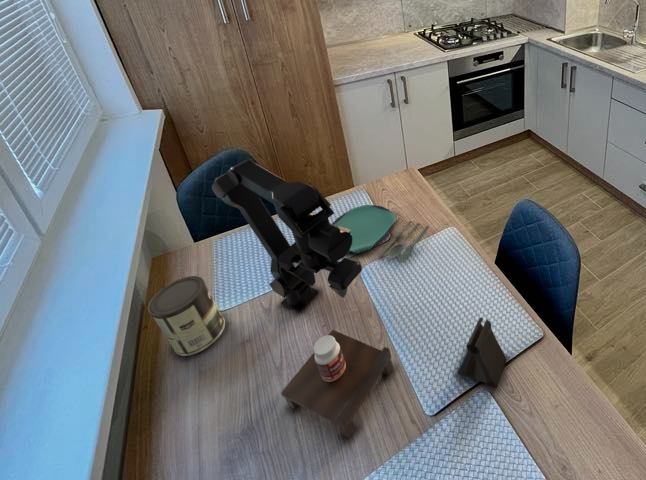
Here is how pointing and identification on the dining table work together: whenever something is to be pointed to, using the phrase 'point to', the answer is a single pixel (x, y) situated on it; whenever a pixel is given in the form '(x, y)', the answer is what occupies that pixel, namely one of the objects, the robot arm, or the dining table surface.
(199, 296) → the coffee can
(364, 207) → the cutlery set
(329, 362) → the pill bottle
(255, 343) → the dining table surface
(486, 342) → the phone stand
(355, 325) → the dining table surface
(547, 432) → the dining table surface
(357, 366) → the shelf
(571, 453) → the dining table surface
